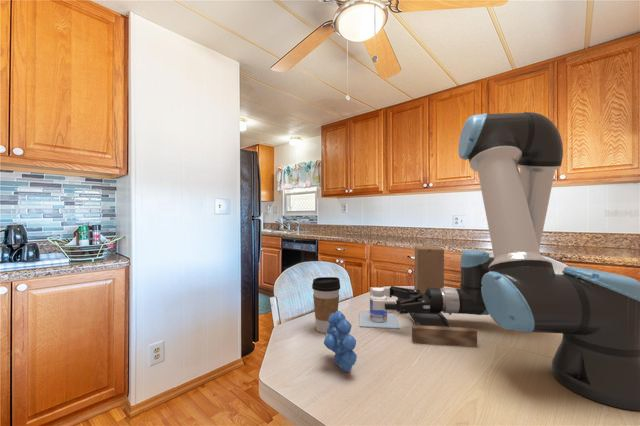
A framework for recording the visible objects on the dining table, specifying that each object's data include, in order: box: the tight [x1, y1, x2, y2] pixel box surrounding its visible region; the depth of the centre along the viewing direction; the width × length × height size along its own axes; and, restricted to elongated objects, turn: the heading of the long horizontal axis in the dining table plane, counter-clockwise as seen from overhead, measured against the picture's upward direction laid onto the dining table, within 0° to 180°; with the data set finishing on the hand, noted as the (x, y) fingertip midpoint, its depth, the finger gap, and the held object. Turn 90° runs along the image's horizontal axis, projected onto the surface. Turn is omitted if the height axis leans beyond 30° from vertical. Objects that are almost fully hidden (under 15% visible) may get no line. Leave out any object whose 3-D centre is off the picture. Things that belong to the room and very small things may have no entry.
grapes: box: [323, 310, 358, 373], centre depth 65 cm, size 12×7×12 cm, turn 22°
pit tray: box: [408, 311, 454, 327], centre depth 90 cm, size 10×16×1 cm, turn 173°
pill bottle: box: [369, 287, 388, 322], centre depth 92 cm, size 5×5×10 cm
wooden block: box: [413, 245, 445, 293], centre depth 118 cm, size 10×10×20 cm
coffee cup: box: [311, 276, 341, 334], centre depth 85 cm, size 8×8×15 cm
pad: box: [358, 311, 401, 330], centre depth 92 cm, size 12×12×1 cm
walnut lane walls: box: [397, 297, 478, 348], centre depth 90 cm, size 16×29×4 cm, turn 173°
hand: (371, 297), depth 92 cm, fingers open, 13 cm apart
